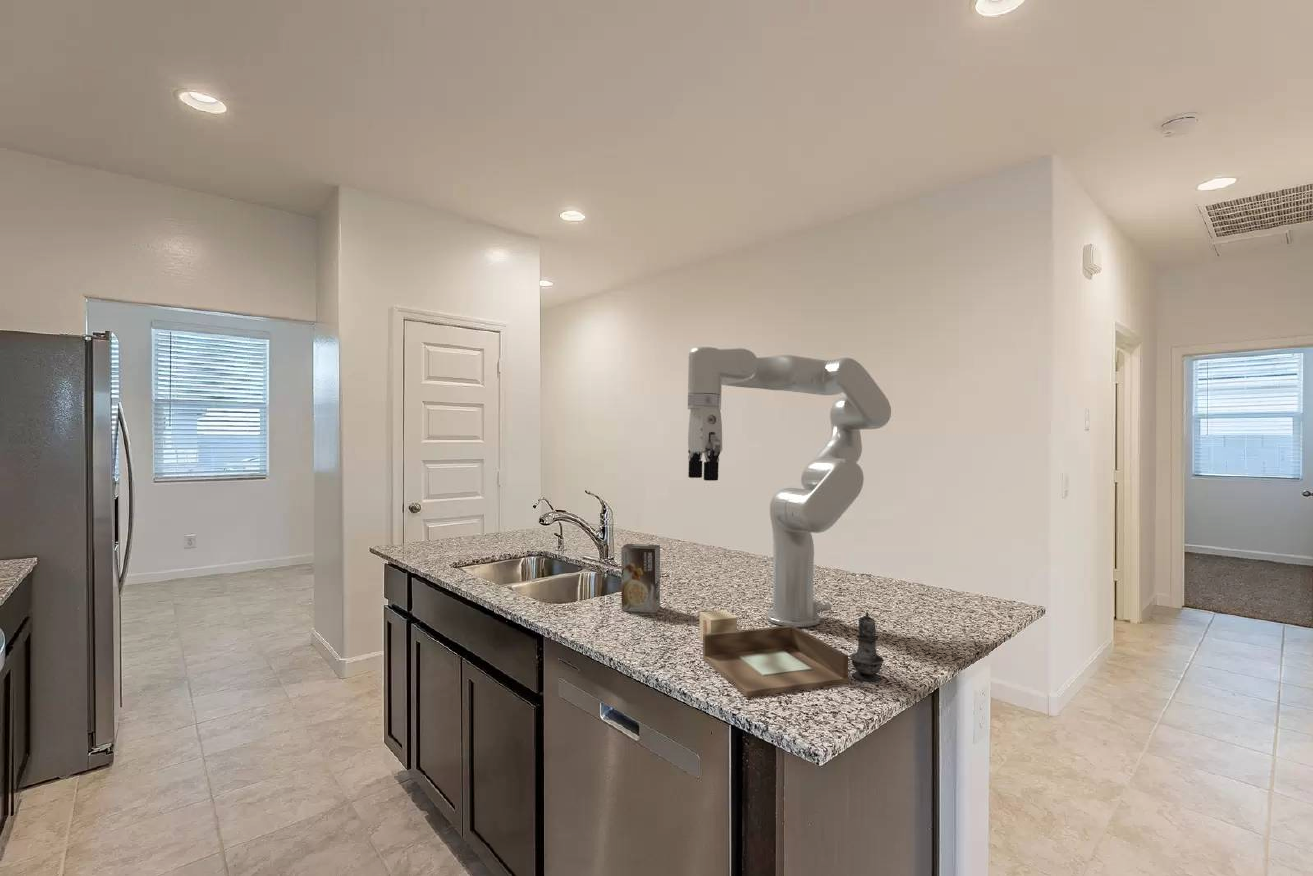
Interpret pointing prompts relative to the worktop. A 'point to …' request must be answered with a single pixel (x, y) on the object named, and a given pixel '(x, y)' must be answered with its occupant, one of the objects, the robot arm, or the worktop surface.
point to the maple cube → (717, 622)
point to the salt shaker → (866, 653)
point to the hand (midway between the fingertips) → (702, 479)
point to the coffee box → (640, 578)
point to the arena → (774, 660)
